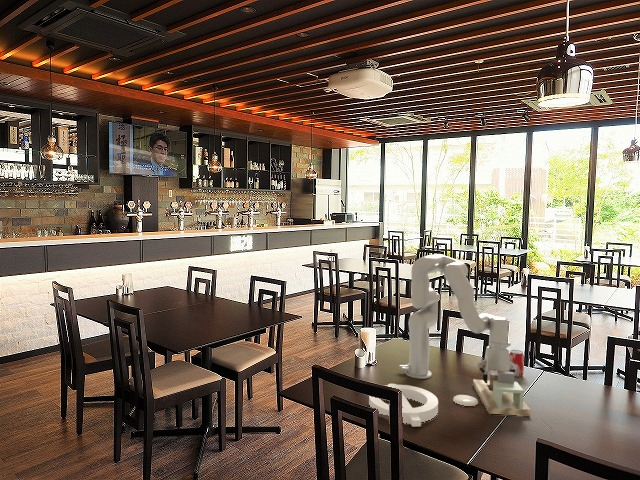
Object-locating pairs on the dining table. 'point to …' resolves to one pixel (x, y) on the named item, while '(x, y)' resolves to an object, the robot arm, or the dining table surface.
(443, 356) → the dining table surface
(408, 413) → the white circle with bar
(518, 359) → the soda can
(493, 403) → the puzzle board
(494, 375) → the walnut block
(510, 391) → the cover
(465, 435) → the dining table surface
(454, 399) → the coaster
